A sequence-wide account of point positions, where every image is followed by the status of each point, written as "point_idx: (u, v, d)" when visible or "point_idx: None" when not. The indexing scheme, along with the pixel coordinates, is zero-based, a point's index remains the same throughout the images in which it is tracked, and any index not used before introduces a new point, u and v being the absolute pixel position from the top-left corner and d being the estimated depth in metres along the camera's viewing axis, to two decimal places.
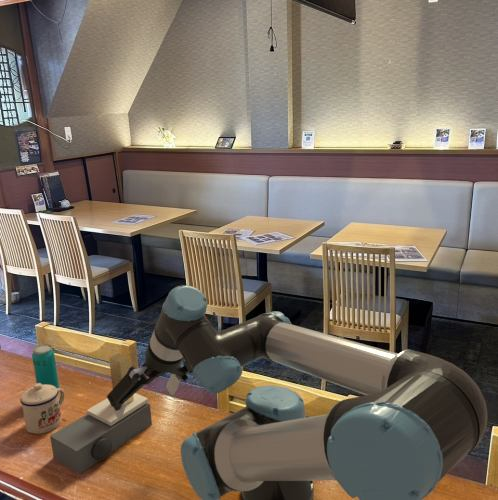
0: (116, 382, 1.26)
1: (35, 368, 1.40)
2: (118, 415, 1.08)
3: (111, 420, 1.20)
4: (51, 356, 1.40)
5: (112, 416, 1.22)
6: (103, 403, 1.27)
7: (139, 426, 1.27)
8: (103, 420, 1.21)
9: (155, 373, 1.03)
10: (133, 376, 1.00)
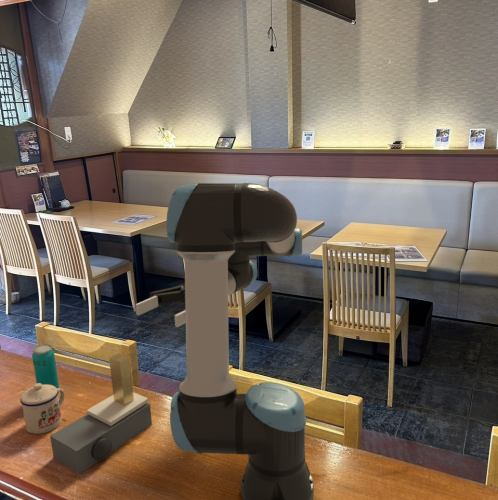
0: (116, 382, 1.26)
1: (35, 368, 1.40)
2: None
3: (111, 420, 1.20)
4: (51, 356, 1.40)
5: (112, 416, 1.22)
6: (103, 403, 1.27)
7: (139, 426, 1.27)
8: (103, 420, 1.21)
9: None
10: None
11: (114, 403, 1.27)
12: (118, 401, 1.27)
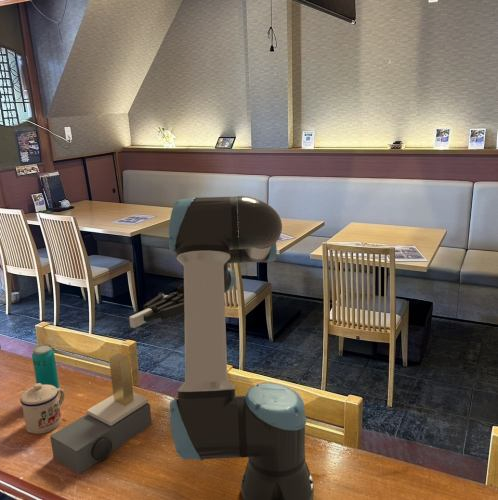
0: (116, 382, 1.26)
1: (35, 368, 1.40)
2: None
3: (111, 420, 1.20)
4: (51, 356, 1.40)
5: (112, 416, 1.22)
6: (103, 403, 1.27)
7: (139, 426, 1.27)
8: (103, 420, 1.21)
9: None
10: None
11: (114, 403, 1.27)
12: (118, 401, 1.27)
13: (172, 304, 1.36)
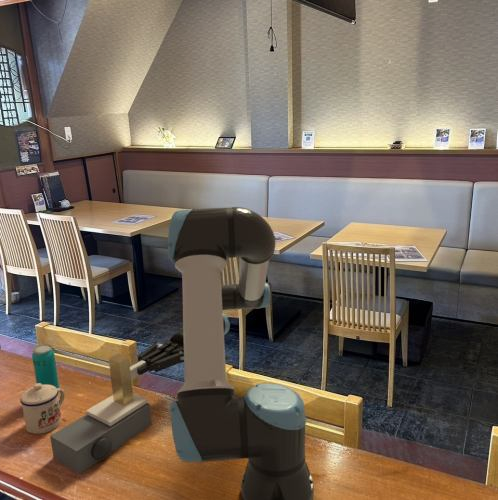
0: (115, 383, 1.26)
1: (35, 368, 1.40)
2: None
3: (111, 420, 1.20)
4: (51, 356, 1.40)
5: (112, 416, 1.22)
6: (102, 404, 1.27)
7: (139, 426, 1.27)
8: (103, 420, 1.21)
9: None
10: None
11: (114, 403, 1.27)
12: (118, 401, 1.27)
13: (166, 355, 1.37)
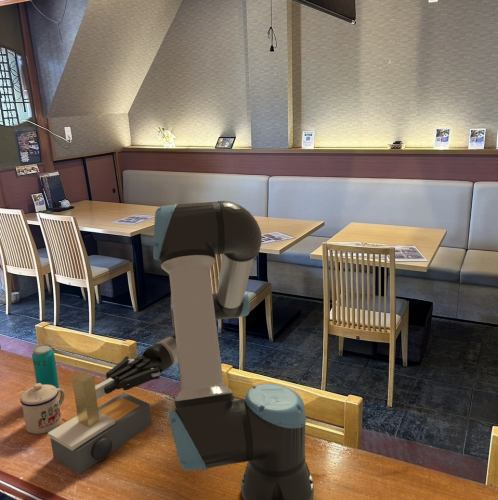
0: (79, 403, 1.17)
1: (35, 368, 1.40)
2: None
3: (72, 444, 1.12)
4: (51, 356, 1.40)
5: (74, 440, 1.13)
6: (66, 425, 1.19)
7: (139, 426, 1.27)
8: (64, 444, 1.13)
9: None
10: None
11: (78, 425, 1.19)
12: (82, 423, 1.19)
13: (136, 372, 1.28)
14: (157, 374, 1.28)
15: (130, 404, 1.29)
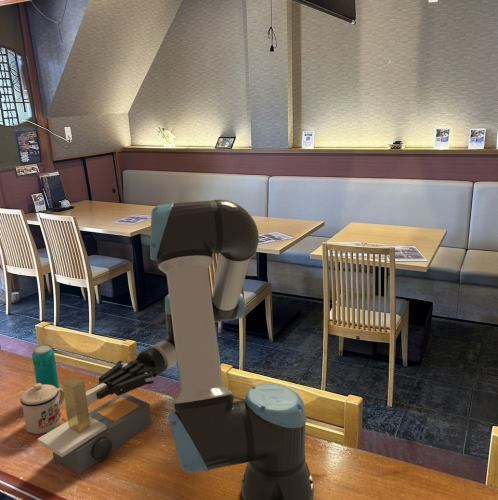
0: (70, 408, 1.15)
1: (35, 368, 1.40)
2: None
3: (62, 451, 1.10)
4: (51, 356, 1.40)
5: (64, 446, 1.11)
6: (56, 431, 1.17)
7: (139, 426, 1.27)
8: (54, 450, 1.11)
9: None
10: None
11: (68, 430, 1.17)
12: (73, 428, 1.17)
13: (129, 376, 1.26)
14: (151, 379, 1.26)
15: (130, 404, 1.29)
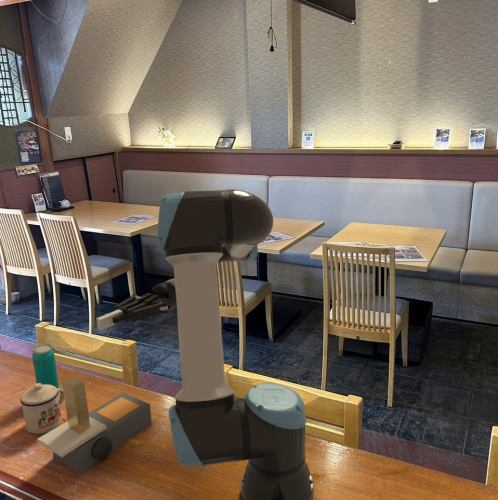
0: (69, 408, 1.15)
1: (35, 368, 1.40)
2: None
3: (62, 451, 1.10)
4: (51, 356, 1.40)
5: (64, 446, 1.11)
6: (56, 431, 1.17)
7: (139, 426, 1.27)
8: (54, 450, 1.11)
9: None
10: None
11: (68, 430, 1.17)
12: (73, 428, 1.17)
13: (144, 305, 1.27)
14: (165, 308, 1.28)
15: (130, 404, 1.29)
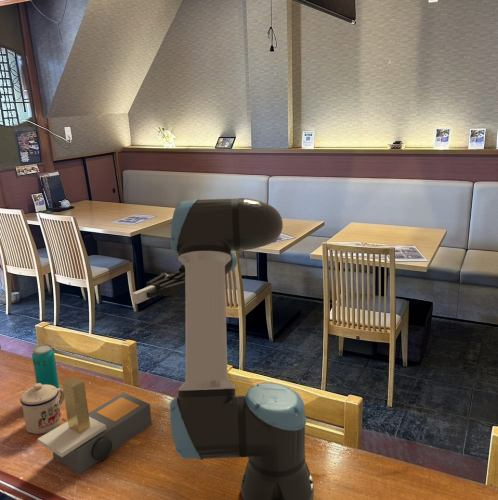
0: (69, 408, 1.15)
1: (35, 368, 1.40)
2: None
3: (62, 451, 1.10)
4: (51, 356, 1.40)
5: (64, 446, 1.11)
6: (56, 431, 1.17)
7: (139, 426, 1.27)
8: (54, 450, 1.11)
9: None
10: None
11: (68, 430, 1.17)
12: (73, 428, 1.17)
13: (174, 282, 1.37)
14: None
15: (130, 404, 1.29)
